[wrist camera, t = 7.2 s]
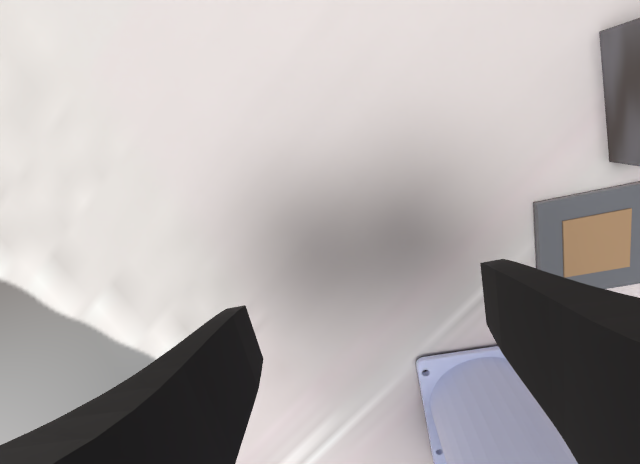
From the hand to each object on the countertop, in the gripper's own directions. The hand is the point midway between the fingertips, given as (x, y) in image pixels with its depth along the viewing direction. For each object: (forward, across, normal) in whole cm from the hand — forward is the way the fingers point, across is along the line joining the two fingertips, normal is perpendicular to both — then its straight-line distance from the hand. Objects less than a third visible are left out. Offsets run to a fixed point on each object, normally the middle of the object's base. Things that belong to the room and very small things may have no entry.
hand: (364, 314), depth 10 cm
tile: (+10, -13, +4) cm, 17 cm away
